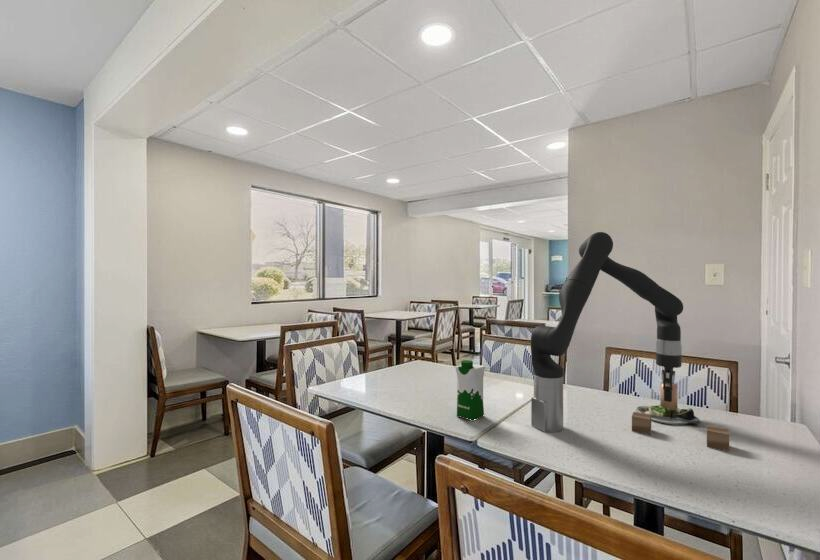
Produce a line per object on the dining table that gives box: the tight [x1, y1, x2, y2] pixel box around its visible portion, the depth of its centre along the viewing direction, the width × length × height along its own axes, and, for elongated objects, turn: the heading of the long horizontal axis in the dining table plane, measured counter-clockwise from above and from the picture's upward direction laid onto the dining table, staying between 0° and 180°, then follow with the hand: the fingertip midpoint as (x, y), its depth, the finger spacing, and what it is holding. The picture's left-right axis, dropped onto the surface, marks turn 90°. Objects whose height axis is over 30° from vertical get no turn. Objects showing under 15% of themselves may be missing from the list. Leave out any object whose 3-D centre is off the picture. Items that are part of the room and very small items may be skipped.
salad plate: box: [635, 404, 702, 426], centre depth 137 cm, size 19×18×5 cm
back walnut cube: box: [631, 411, 652, 436], centre depth 126 cm, size 5×5×5 cm
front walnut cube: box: [706, 424, 730, 452], centre depth 114 cm, size 5×5×5 cm
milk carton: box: [455, 359, 486, 420], centre depth 139 cm, size 9×9×20 cm
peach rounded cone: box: [659, 381, 678, 409], centre depth 137 cm, size 5×5×8 cm
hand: (668, 398), depth 137 cm, fingers open, 8 cm apart
